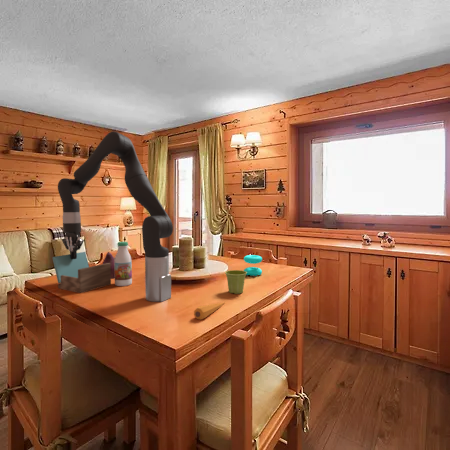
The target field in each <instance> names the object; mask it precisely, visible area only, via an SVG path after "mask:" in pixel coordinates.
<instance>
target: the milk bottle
mask: <svg viewBox="0 0 450 450" xmlns="http://www.w3.org/2000/svg"><path fill="white" fill-rule="evenodd" d="M128 248H129V241H119V242H117V251H116V254H115V257H114V258H115V262H114V271H115V278H114V285H115V286H118V287H125V286H130V285H132V283H133V271H132V270H133V268H132V264H133V263H132V256H131V254H130V253H129V249H128Z"/></svg>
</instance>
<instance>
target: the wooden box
mask: <svg viewBox="0 0 450 450" xmlns="http://www.w3.org/2000/svg"><path fill="white" fill-rule="evenodd" d="M111 284H112V279H111V268H110V263H106V264H103V263H102V264H98V265H97V264H96V265H93V266H89V267H87V268H82V269H78V278H76V277H70V276H65V275H61V283H58V285H57V286H58V287H57V288H58V289H60V290H65V291H69V292H73V293H74V292H75V293H79V294H83V293H86V292H89V291H93V290H96V288H97V289H99V288H103V287H107V286H111ZM106 285H107V286H106Z"/></svg>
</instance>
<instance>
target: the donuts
mask: <svg viewBox="0 0 450 450" xmlns="http://www.w3.org/2000/svg"><path fill="white" fill-rule="evenodd" d="M243 261H244V262H245V263H247V264H252V265H253V264H254V265H255V264H260V263H261V262H262V261H263V257H262V256H260V255H255V254H249V255H245V256H244V257H243ZM243 271H246V272H247V274H246V276H248V275H250V276H249V277H258V276H257V275H259V276H261V275H262V273H263V270H262V268H260V267H256V266H249V267H245V268H244V269H243Z"/></svg>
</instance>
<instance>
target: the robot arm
mask: <svg viewBox="0 0 450 450" xmlns="http://www.w3.org/2000/svg"><path fill="white" fill-rule="evenodd" d="M110 154H112V155H115V156H116V157H119V159H120V160H121V162H122V164H123V165H124V170H125V171H124V182H125V183H124V184H125V185H126V188H127V190H128V192H129V194H130V195H131V197H132V198H133V199H134V200H135V201H137V202H136V203H138V204H140V205H141V206H142V207H143V208H144V209H145V210H146V211H147V212H148V214H149V216H146V217H145V218H144V219H143V222H142V225H141V234H142V236H141V237H142V248H143V251H144V255H145V256H144V270H145V271H144V273H145V277H144V279H145V300H146V301H148V302H165V301H166V300H168V299H171V298H172V275H171V274H170V265H169V264H170V261H169V260H170V257H169V256H170V254H169V253H170V252H169V248H168V247H166V246H163V245H162V243H161V239H166V238H170V236H171V235H173V233H174V232H173V231H174V226H173V222H172V219H171V218H170V215H168V212H167V211H166V210H165V208H164V206H163V205H162V203H161V202H160V200H159V198H158V195H157V194H156V192H155V190H154V188H153V186H152V184H151V182H150V180H149V178H148V176H147V173H146V172H145V170H144V168H143V165H142V164H141V161H140V160H139V157H138V155H137V152H136V148H135V146H134V144H133V141H132V140H131V139H130V137H128V136H126V135H124V134H123V133H120V132H118V131H115V130H114V131H110V132H108V133H107V134H106V135H105V136H104V137H103V138H102V140H100V142H99V144H97V146H96V148H95V149H94V150H93V152H92V153H91V154H90V156H89V157H88V158H87V159H86V160H85V161H84V162H83V163H82V164H81V165H80V166H79V167H78V168H76V169H75V170H74V172H73V178H69V177H68V178H61V179H60V180H59V181H58V183H57V192H58V194H59V198H60V201H61V202H62V232H63V233H64V234H65V235H64V238H62V239H61V241H62V244H63V246H64V247H65V249H66V251H67V250H68V252H69V254H70V259H76V258H77V253H78V252H77V251H79V250H80V249H81V248H82V245H83V244H84V241H85V240H84V239H82V238H81V235H80V233H81V232H82V218H81V209H80V207H81V206H80V202H79V200H78V199H75V198H74V196H73V195H78V194H80V193H82V192H83V191H84V190H85V188H86V186H87V184H88V182H90V181H91V180H92V179H93V178H94V177H95V176H96V175H98V173H99V171H100V169H101V167H102V166H101V165H102V162H103V161H104V160H105V158H106V157H107V156H109V155H110Z"/></svg>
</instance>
